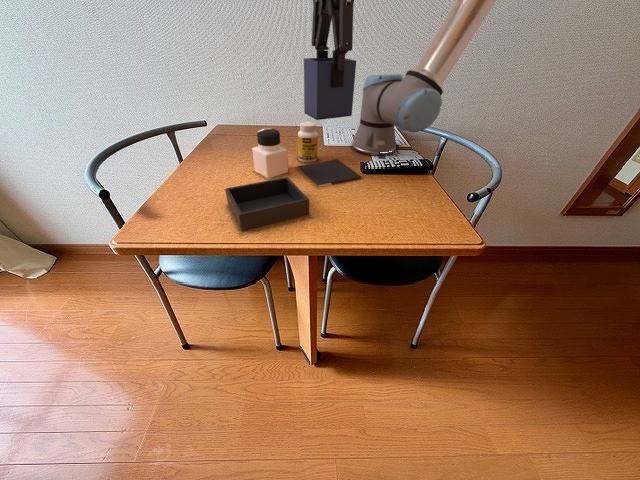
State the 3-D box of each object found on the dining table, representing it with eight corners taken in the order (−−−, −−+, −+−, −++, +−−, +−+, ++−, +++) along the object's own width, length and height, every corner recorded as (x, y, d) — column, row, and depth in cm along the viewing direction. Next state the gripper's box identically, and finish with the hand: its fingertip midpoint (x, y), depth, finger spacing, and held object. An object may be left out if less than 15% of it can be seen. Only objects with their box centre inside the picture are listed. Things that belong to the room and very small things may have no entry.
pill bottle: (301, 164, 89) (301, 127, 83) (295, 156, 94) (294, 121, 87) (320, 161, 91) (321, 125, 84) (313, 154, 96) (313, 120, 89)
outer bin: (288, 193, 74) (287, 176, 71) (309, 216, 65) (309, 199, 62) (228, 205, 68) (224, 188, 65) (242, 233, 59) (238, 215, 57)
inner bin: (337, 109, 78) (340, 57, 70) (351, 116, 73) (356, 60, 65) (304, 113, 74) (303, 58, 66) (316, 120, 69) (317, 61, 62)
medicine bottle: (288, 173, 83) (286, 131, 76) (267, 180, 80) (263, 136, 72) (274, 165, 88) (271, 125, 80) (254, 171, 84) (249, 129, 77)
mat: (336, 161, 92) (336, 159, 92) (361, 178, 82) (361, 176, 82) (296, 168, 87) (296, 166, 86) (317, 187, 77) (317, 185, 77)
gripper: (295, -45, 61) (298, 78, 75) (344, -63, 47) (336, 93, 61) (326, -41, 63) (323, 77, 77) (381, -57, 50) (365, 90, 64)
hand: (329, 84), depth 69 cm, fingers closed on inner bin, 7 cm apart
